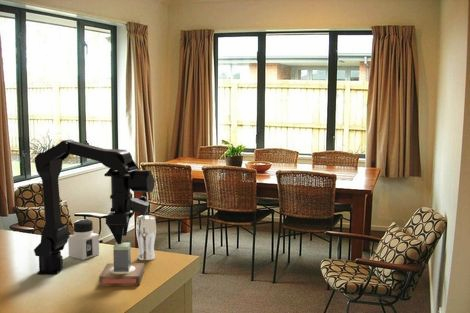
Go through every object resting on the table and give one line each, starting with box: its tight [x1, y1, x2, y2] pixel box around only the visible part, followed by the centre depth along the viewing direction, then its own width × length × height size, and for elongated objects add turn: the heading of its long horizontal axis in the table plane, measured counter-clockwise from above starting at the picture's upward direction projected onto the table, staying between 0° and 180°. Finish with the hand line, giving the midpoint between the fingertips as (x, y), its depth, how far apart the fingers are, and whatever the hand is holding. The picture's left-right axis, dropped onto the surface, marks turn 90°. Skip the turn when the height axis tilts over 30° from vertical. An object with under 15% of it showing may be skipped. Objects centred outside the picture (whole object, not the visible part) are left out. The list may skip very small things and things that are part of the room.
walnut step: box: [98, 262, 145, 287], centre depth 156 cm, size 12×12×3 cm
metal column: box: [112, 242, 132, 272], centre depth 156 cm, size 4×4×8 cm
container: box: [67, 218, 100, 261], centre depth 179 cm, size 8×8×13 cm
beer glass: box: [135, 214, 157, 262], centre depth 176 cm, size 7×7×15 cm
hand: (122, 239), depth 155 cm, fingers open, 9 cm apart
